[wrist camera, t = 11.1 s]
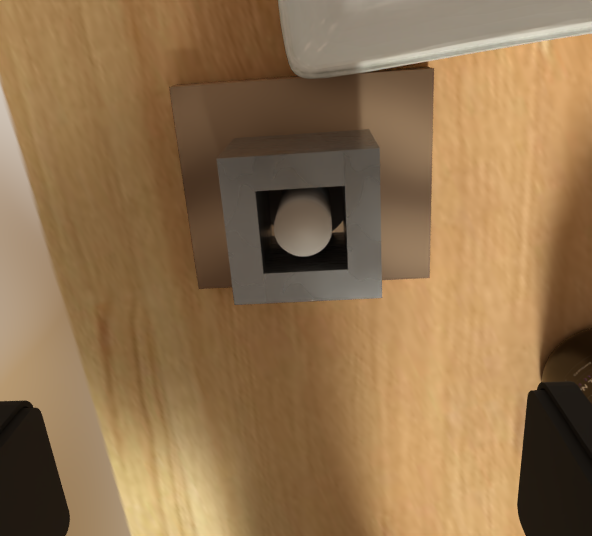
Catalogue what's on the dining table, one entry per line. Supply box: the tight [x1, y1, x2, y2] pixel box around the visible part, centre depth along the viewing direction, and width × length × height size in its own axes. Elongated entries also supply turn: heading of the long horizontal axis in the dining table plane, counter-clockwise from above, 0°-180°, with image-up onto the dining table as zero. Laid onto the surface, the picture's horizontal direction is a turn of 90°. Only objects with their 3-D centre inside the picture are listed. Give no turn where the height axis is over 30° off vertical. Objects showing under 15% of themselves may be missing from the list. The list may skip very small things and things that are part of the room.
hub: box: [217, 129, 382, 305], centre depth 26 cm, size 6×6×5 cm
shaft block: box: [169, 67, 434, 289], centre depth 27 cm, size 11×13×8 cm
